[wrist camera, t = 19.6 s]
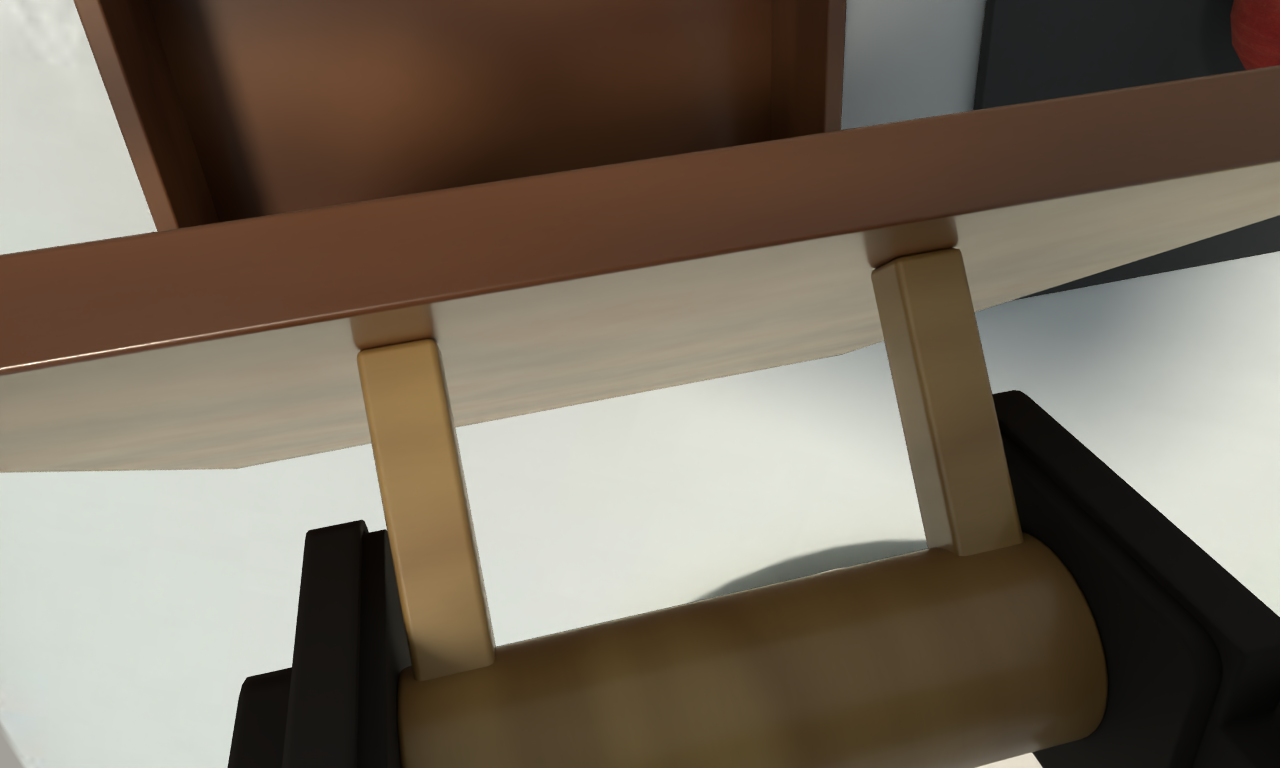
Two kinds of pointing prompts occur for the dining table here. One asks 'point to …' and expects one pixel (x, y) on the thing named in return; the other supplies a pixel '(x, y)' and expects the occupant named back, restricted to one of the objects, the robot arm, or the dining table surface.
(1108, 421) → the dining table surface
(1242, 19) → the pomegranate
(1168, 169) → the lid
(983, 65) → the mat
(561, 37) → the chest
